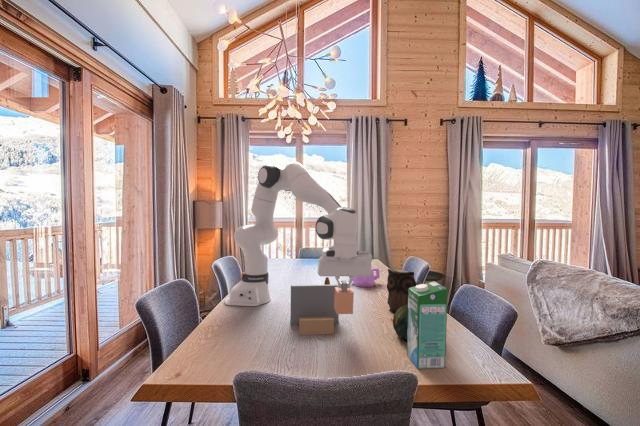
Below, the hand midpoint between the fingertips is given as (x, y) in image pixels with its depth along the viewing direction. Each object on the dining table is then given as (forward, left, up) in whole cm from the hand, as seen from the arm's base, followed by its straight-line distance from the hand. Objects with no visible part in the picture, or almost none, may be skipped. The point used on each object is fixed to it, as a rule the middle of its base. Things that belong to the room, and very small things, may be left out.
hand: (343, 287), depth 120 cm
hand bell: (-3, +28, -19) cm, 34 cm away
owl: (+33, +25, -19) cm, 46 cm away
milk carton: (+23, -20, -19) cm, 36 cm away
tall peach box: (0, 0, -9) cm, 9 cm away
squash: (+26, -3, -19) cm, 33 cm away
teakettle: (+25, +76, -19) cm, 82 cm away
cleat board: (-10, +11, -19) cm, 24 cm away
